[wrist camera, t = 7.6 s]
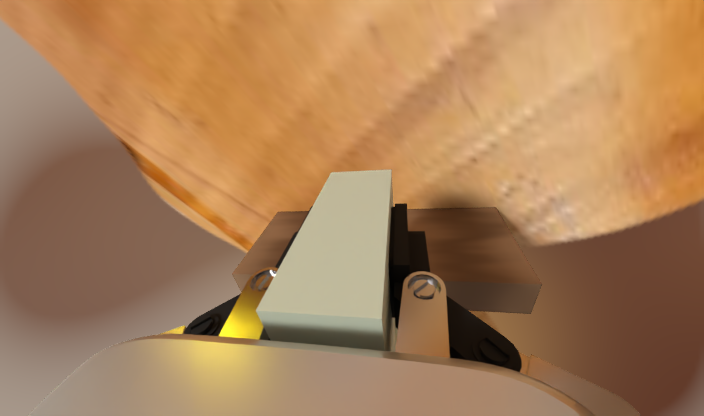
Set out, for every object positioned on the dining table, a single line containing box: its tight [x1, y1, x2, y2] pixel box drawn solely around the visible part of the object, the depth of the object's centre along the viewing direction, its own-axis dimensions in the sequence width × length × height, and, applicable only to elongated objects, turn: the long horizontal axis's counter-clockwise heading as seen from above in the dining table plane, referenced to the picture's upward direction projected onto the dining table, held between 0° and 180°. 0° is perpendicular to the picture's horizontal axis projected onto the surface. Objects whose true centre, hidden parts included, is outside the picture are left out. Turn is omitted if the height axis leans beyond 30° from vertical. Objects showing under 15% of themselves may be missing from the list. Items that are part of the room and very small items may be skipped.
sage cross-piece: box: [256, 169, 398, 352], centre depth 13 cm, size 3×15×8 cm, turn 7°
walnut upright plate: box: [232, 208, 542, 314], centre depth 19 cm, size 18×2×8 cm, turn 97°
